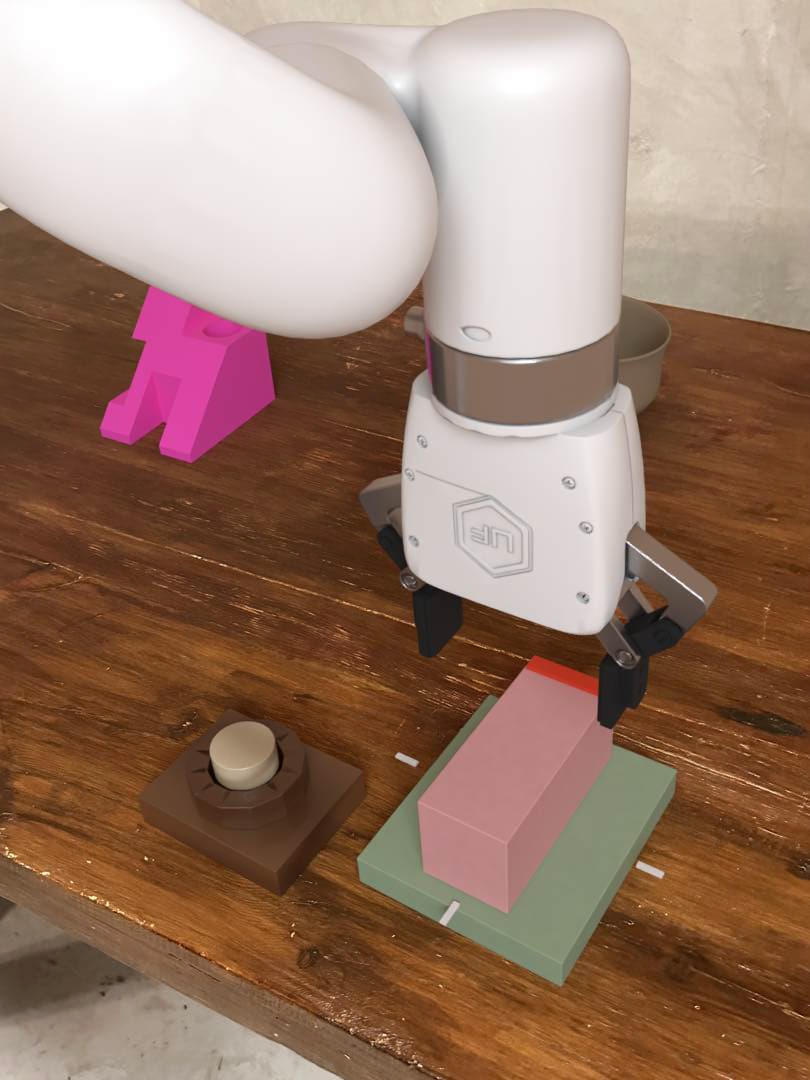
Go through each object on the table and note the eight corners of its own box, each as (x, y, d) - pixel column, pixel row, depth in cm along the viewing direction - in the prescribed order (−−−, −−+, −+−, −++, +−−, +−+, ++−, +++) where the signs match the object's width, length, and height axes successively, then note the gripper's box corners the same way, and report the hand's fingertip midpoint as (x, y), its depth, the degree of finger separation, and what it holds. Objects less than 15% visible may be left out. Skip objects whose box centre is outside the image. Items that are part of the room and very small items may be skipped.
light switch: (280, 898, 60) (270, 850, 57) (144, 821, 64) (129, 774, 62) (367, 796, 65) (361, 748, 62) (234, 732, 70) (224, 686, 67)
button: (251, 801, 60) (246, 779, 59) (200, 775, 62) (195, 753, 61) (292, 757, 63) (288, 735, 62) (242, 733, 64) (238, 712, 63)
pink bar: (507, 915, 56) (506, 840, 52) (422, 871, 58) (416, 797, 55) (611, 756, 63) (616, 683, 60) (533, 724, 66) (533, 651, 62)
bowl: (661, 469, 90) (671, 357, 84) (503, 460, 92) (502, 350, 86) (664, 392, 100) (673, 286, 94) (521, 385, 102) (521, 282, 96)
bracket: (189, 376, 108) (168, 275, 102) (275, 398, 103) (259, 294, 97) (102, 436, 100) (74, 330, 94) (191, 463, 95) (168, 353, 89)
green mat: (590, 1027, 53) (592, 1001, 51) (315, 879, 60) (311, 854, 59) (717, 795, 63) (721, 768, 62) (469, 694, 71) (469, 669, 70)
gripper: (292, 354, 46) (337, 661, 56) (695, 457, 38) (663, 795, 48) (393, 283, 51) (418, 578, 61) (771, 361, 43) (727, 686, 53)
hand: (526, 673), depth 55 cm, fingers open, 9 cm apart
